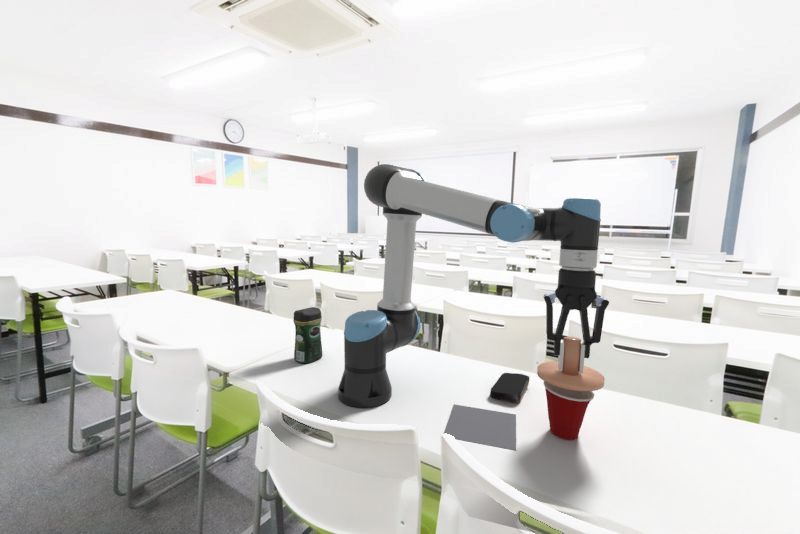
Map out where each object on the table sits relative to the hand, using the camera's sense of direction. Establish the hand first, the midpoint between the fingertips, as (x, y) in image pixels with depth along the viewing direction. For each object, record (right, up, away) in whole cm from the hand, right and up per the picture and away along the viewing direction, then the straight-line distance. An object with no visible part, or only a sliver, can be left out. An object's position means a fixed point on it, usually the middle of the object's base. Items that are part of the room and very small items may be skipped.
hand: (570, 369), depth 84 cm
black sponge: (-7, -14, +24) cm, 28 cm away
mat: (-19, -15, +5) cm, 25 cm away
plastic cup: (0, -16, +2) cm, 16 cm away
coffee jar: (-72, -10, +47) cm, 87 cm away
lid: (0, -2, 0) cm, 2 cm away
